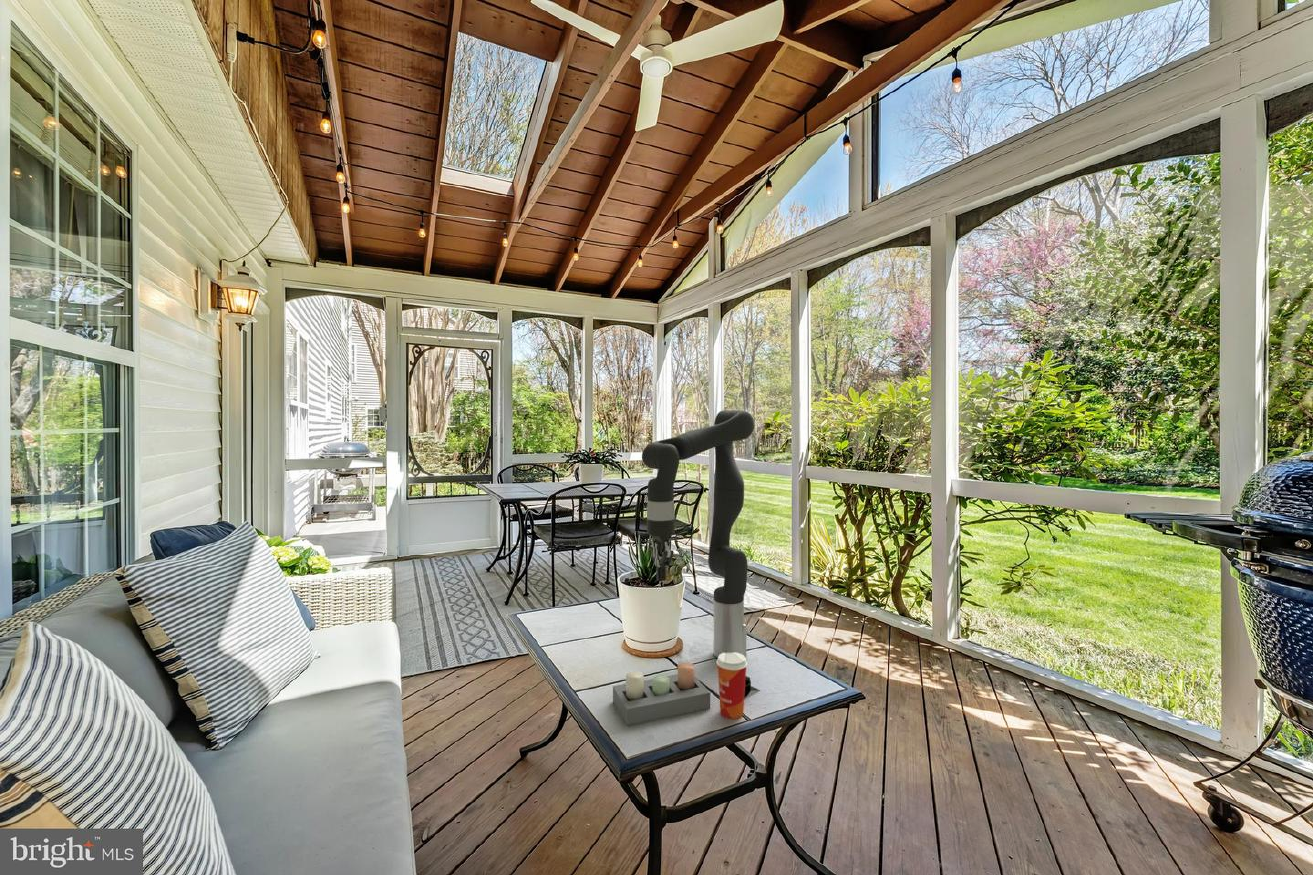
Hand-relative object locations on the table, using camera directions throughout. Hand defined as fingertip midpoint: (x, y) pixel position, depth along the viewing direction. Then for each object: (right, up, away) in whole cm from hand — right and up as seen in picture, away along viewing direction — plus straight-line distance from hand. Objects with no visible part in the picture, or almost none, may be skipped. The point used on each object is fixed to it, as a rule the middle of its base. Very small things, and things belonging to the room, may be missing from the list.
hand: (661, 579), depth 152 cm
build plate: (+21, -30, -4) cm, 37 cm away
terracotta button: (+6, -26, -7) cm, 27 cm away
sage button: (0, -28, -10) cm, 30 cm away
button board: (0, -29, -10) cm, 31 cm away
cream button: (-7, -26, -12) cm, 29 cm away
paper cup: (+17, -30, -14) cm, 37 cm away
